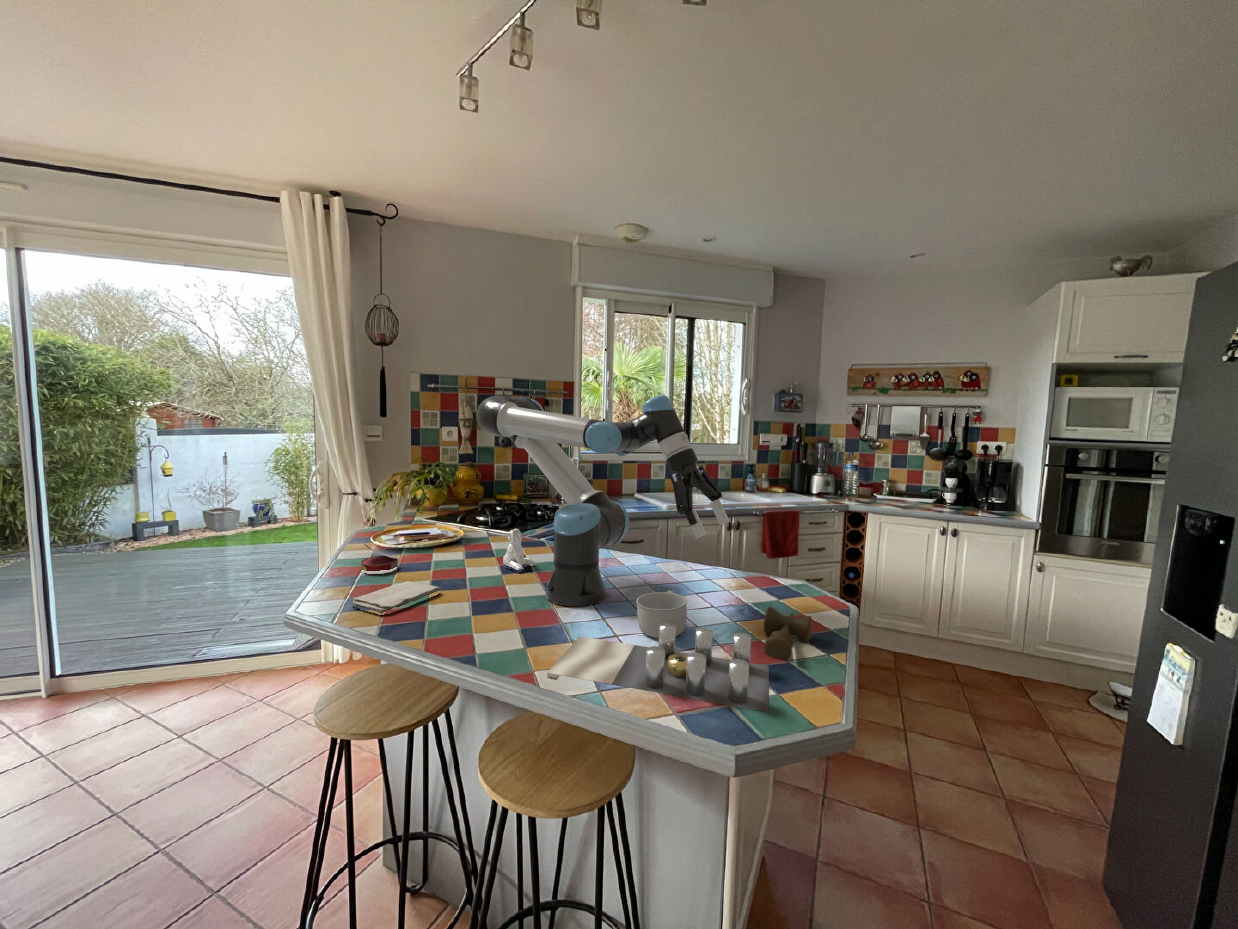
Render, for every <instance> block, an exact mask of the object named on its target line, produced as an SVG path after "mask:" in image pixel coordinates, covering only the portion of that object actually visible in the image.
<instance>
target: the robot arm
mask: <svg viewBox="0 0 1238 929" xmlns="http://www.w3.org/2000/svg"><path fill="white" fill-rule="evenodd" d="M641 410H642V414H640V415H639V416H637V417H635V418H633V419H632V420H629V421H620V422H619V421H607V420H600V419H592V418H589V417H588V418H587V417H580V416H575V415H568V414H564V413H557V412H550V411H545V410H544V407H542V405H541V403H539V402H538V401H537V400H535V399H532V398H528V397H526V396H525V397H524V396H519V397H517V396H505V395H504V396H503V395H493V396H489V397H487V398H485V399H483V401H482V402H481V403H480V404H479V405H478V407H477V410H476V422H477V424H478V426H479V428H480V429H481V430H482V431H483V432H484V433H486V434H487V435H490V436H494V437H503V438H509V440H510V441H511V442H512V443H513V444H514V446H515V447H516V448H517V449H524V450H525V451H526V452H527V454H528V456H529V457H530V458H531V459H532V460H533V461H534V463H535V464H536V466H538V468H539V470H541V472H542V473H543V475H544V476H545V477H546V478H547V480H548V481H549V482H550V483H551V485H552V486H553V488H555V490H556V491H557V492H558V494H559V495H560V496H561V498H562V499H563V500H564V501H565V503H566V505H564V506H562V507H560V508H558V509H557V510H556V511H555V514H554V519H553V520H554V522H553V567H552V571H551V573H550V577H549V580H548V582H547V586H546V588H545V590H546V591H545V592H546V594H545V597H546V596H547V598H548V599H549V600H550V601H552V602H555V603H557V604H556V605H558V604H561V605H560V606H563V605H566V606H565V607H586V606H585V605H588V606H591V604H593V605H595V604H594V603H596V604H598V603H600V602H602V601H603V600H605V598H604V597H605V595H606V591H605V590H606V588H605V587H606V586H605V584H604V580H603V578H602V574H601V570H600V568H599V567H600V566H599V565H600V550H601V549H603V548H606V547H608V546H611V545H615V544H617V543H618V542H619V541H620V540H622V539H623V538H624V537H626V534H627V533H628V530H629V527H630V526H629V525H630V517H629V513H628V511H627V510H626V508H625V506H623V504H621V503H619V502H618V501H614V500H611V499H609V497H608V496H607V494H606V493H605V492H604V491H603V490H600V489H599V490H596V489H594V487H593V486H592V485H591V484H590V482H589V481H588V479H587V478H586V477H585V476H584V475H583V474H582V472H581V471H580V470H579V468H578V467H577V466H576V465H575V464H574V463H573V461H572V460H571V458H570V457H569V455H567V454H566V453H565V451H564V450H563V449H562V447H560V445H559V444H563V445H567V446H573V447H578V448H582V449H583V448H584V449H588V450H591V451H592V452H594V453H598V454H603V455H604V454H606V455H607V454H610V453H611V454H613V453H614V454H615V455H617V456H619V457H625V456H627V455H630V454H633V453H634V452H635V451H637V450H638V449H640V448H642V447H644V446H646V445H648V444H650V443H652V442H654V441H656V442H657V444H658V446H659V449H660V451H661V453H662V455H663V458H666V460H665V463H666V464H667V466H668V468H669V471H670V472H671V473H674V474H672V475H671V474H670V476H669V478H670V481H671V484H672V488H673V494H674V500H675V505H676V512H678V513H679V515H681V516H683V515H685V517H686V519H687V521H688V525H689V526H690V528H691V530H692V532H693V534H694V537H695V539H699V538H701V537H705V536H706V535H707V532H706V529H705V528H704V525H703V523H702V520H701V518H700V517H699V514H698V512H697V509H694V507H693V506H694V505H693V503H694V502H693V488H696V489H698V490H699V491H700V492H701V493H702V494H703V495H704V496H705V497H706V498H707V499H708V500H709V501H711V502H709V504H710V507H711V509H712V511H713V513H714V516H715V517H716V520H717V522H718V524H719V526H722V525H725V524H727V523H730V522H731V521H730V519H729V517H728V514H727V513H726V510H725V508H724V505H723V504H722V502H721V498H723V492H722V491H721V490H720V489H719V487H718V486H717V484H716V483H715V482H714V481H713V479H712V478H711V477H710V476H709V474H708V472H706V470H705V467H704V466H703V465H702V464H701V465H698V466H696V465H695V463H697V462H698V457H697V455H696V453H695V451H694V448H691V445H692V444H691V443H690V442H691V441H690V440H689V438H688V434H686V432H685V429H684V427H683V425H682V423H681V421H680V419H679V416H678V414H677V411H676V409H675V408H674V405H673V403H672V402H671V400H670V398H669V397H668V395H665V394H662V395H661V394H660V395H657V396H654V397H652V398H649V399H648V400H646V401H645V402H644V403H643V404H642V405H641ZM547 598H546V599H547ZM548 599H547V600H548ZM549 600H548V601H549ZM550 601H549V602H550ZM599 601H600V602H599ZM552 602H551V603H552ZM597 602H598V603H597ZM555 603H554V604H555Z"/></svg>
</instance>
